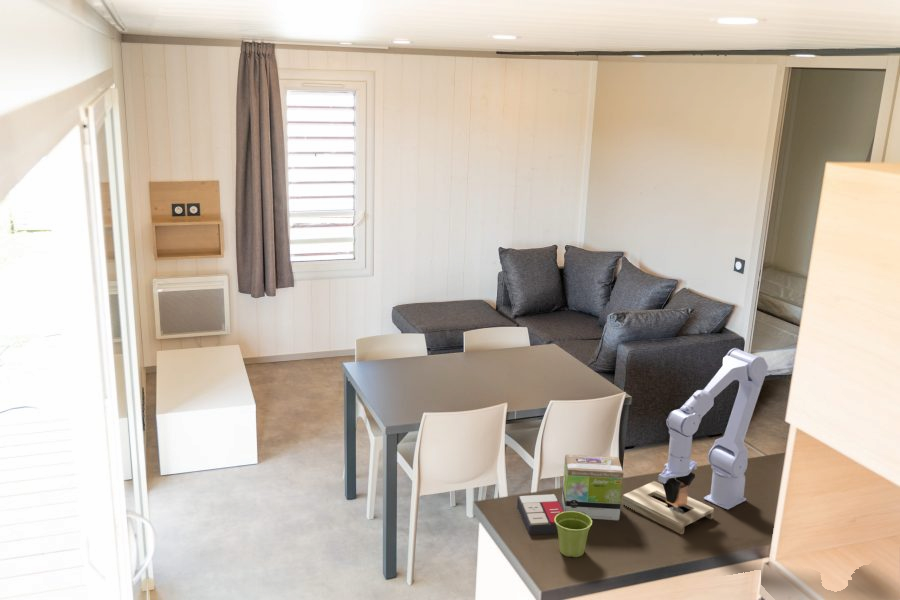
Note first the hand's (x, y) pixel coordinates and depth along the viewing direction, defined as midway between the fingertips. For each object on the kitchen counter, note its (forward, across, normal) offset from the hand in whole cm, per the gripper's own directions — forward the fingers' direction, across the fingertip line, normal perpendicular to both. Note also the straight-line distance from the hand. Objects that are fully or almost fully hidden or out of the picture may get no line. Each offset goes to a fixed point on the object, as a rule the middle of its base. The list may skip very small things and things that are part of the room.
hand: (675, 499), depth 218 cm
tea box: (+5, +17, -16) cm, 23 cm away
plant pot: (+5, +36, -5) cm, 37 cm away
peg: (+4, 0, 0) cm, 5 cm away
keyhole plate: (+5, 0, -2) cm, 5 cm away
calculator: (+5, +31, -20) cm, 37 cm away
